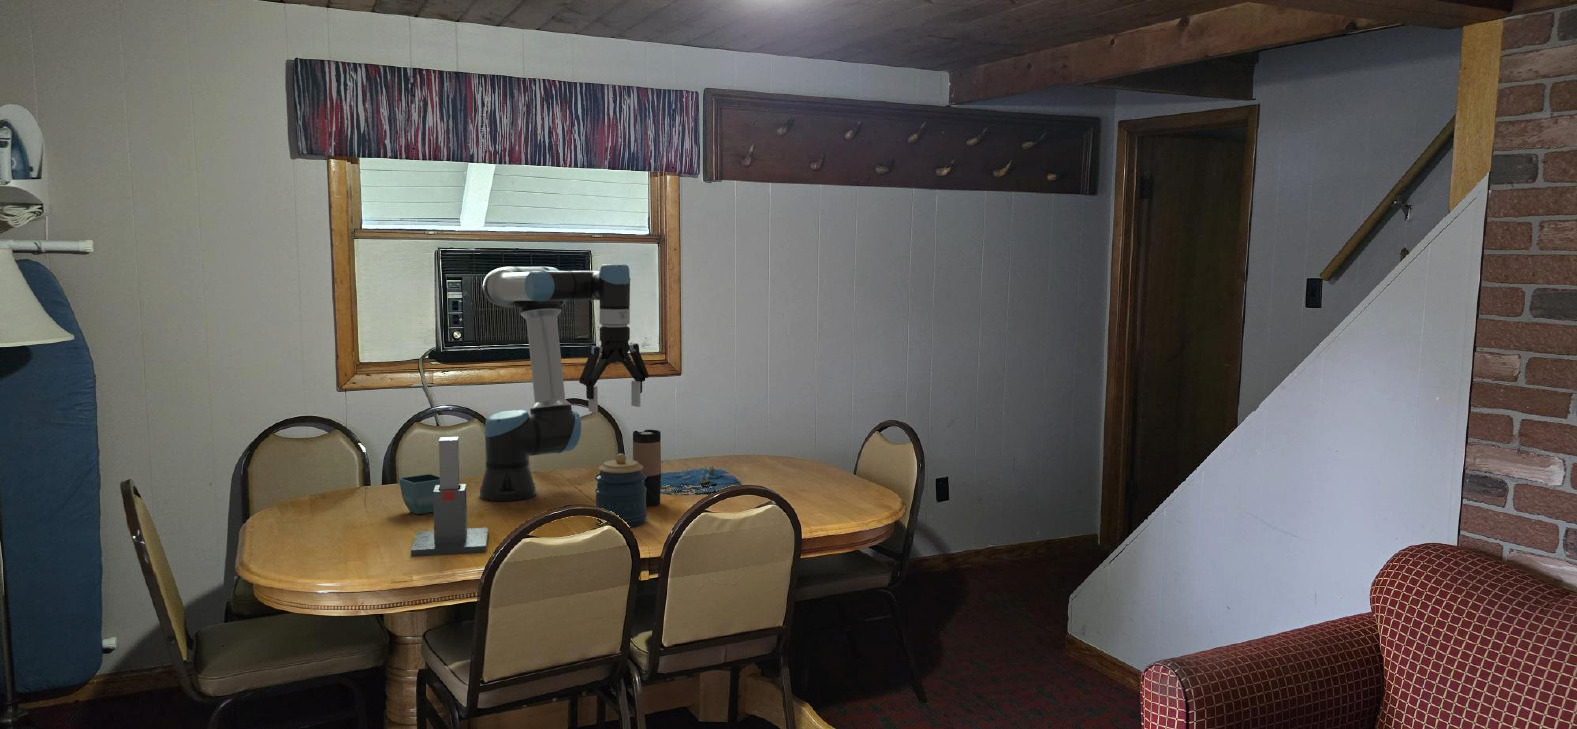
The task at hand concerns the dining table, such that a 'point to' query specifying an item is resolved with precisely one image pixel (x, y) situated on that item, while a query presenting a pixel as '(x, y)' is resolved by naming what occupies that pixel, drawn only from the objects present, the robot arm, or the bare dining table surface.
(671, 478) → the ocean terrain model
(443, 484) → the stand post
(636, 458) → the travel mug
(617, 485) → the canister
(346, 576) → the dining table surface
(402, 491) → the flower pot
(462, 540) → the jack stand base
